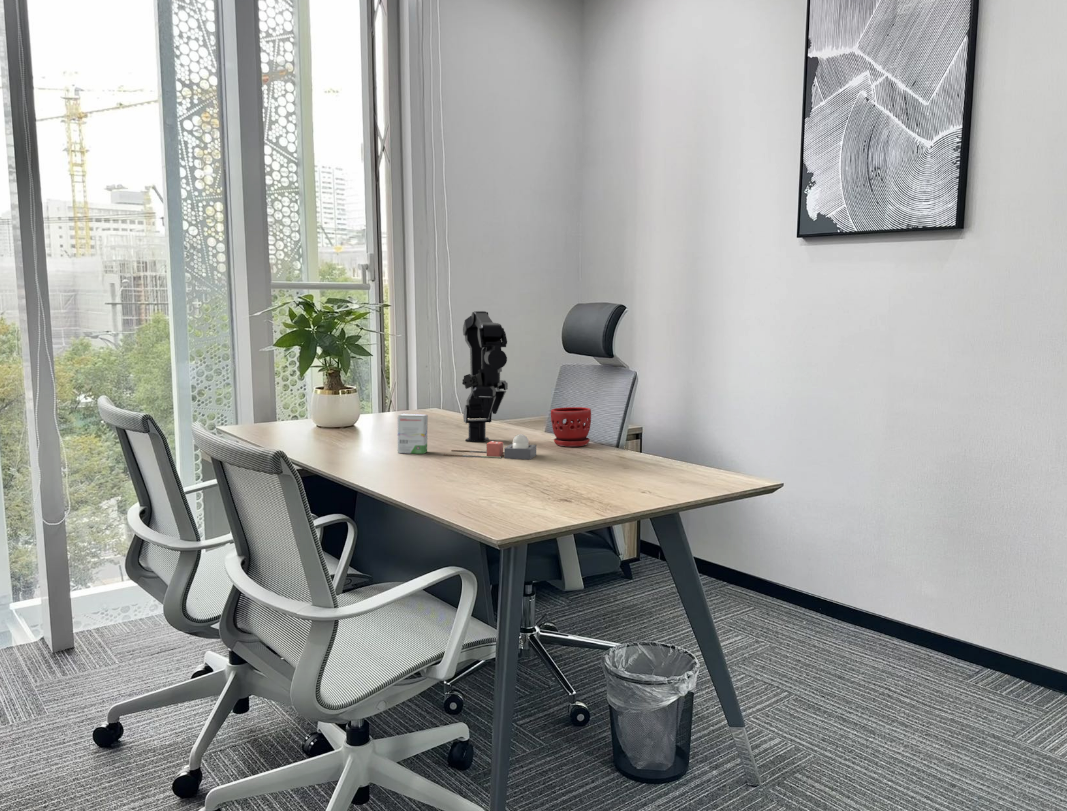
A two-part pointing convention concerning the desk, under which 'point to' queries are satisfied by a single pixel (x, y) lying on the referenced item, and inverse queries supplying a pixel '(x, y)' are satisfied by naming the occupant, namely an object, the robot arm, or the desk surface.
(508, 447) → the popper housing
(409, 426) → the ink box
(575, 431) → the plant pot
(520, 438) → the dome
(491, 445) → the die
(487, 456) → the track
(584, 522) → the desk surface
